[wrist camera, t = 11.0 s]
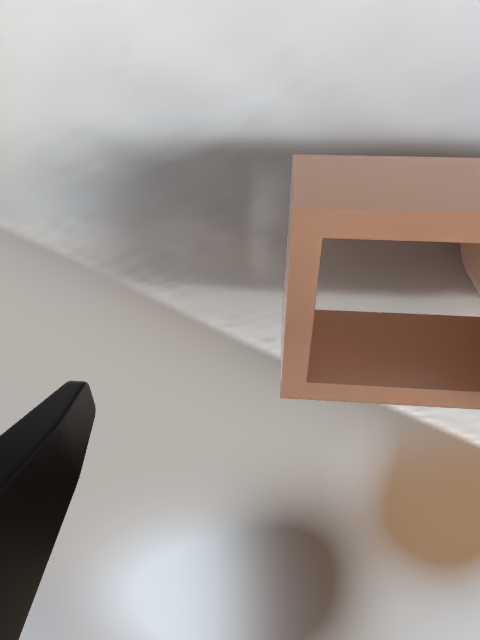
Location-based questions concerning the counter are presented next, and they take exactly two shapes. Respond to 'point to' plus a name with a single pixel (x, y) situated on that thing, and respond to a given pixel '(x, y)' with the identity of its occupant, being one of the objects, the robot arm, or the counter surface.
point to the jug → (373, 327)
